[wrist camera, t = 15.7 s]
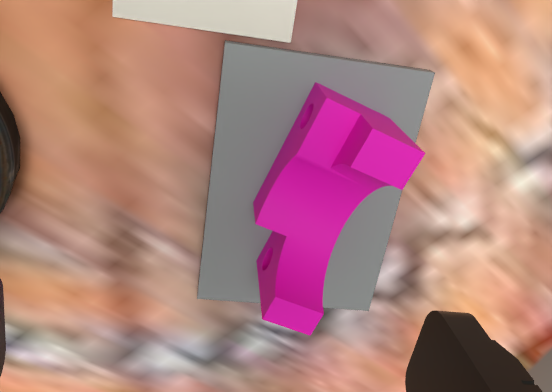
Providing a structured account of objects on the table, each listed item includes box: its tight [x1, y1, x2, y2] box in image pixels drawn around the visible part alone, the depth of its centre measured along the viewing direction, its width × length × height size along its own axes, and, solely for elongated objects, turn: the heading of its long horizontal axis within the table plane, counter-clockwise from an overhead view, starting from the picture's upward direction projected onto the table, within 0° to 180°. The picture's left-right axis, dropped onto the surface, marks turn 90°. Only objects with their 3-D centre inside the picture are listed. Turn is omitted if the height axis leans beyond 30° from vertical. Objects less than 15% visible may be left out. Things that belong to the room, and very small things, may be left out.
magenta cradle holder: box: [253, 82, 425, 335], centre depth 36 cm, size 15×6×8 cm, turn 154°
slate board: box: [197, 40, 435, 311], centre depth 40 cm, size 15×21×1 cm
